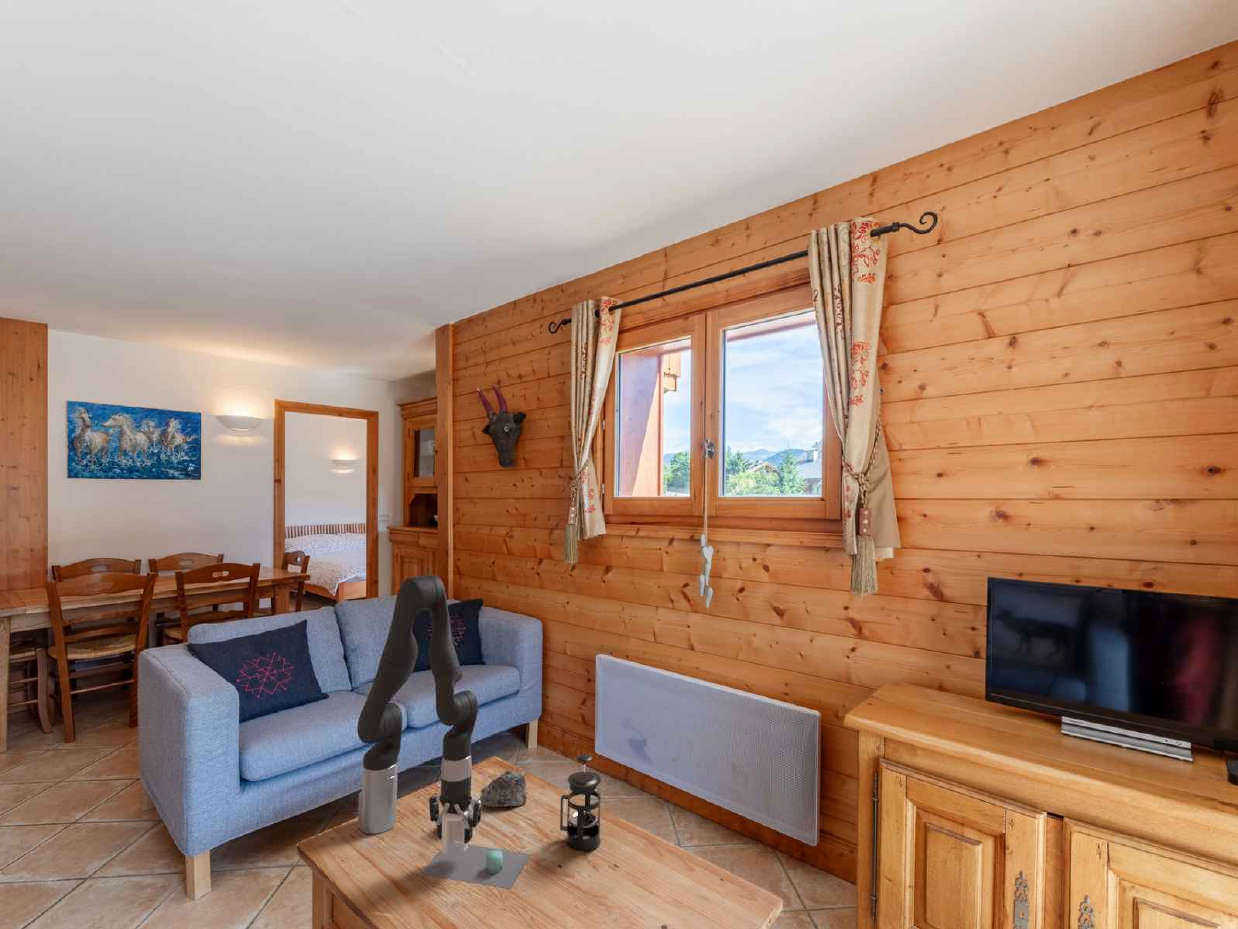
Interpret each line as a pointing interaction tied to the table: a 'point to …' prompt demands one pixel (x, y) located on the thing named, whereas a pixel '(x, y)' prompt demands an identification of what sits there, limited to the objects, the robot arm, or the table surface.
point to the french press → (582, 810)
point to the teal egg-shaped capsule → (494, 862)
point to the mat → (476, 865)
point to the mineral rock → (505, 790)
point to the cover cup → (452, 830)
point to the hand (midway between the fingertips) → (454, 839)
